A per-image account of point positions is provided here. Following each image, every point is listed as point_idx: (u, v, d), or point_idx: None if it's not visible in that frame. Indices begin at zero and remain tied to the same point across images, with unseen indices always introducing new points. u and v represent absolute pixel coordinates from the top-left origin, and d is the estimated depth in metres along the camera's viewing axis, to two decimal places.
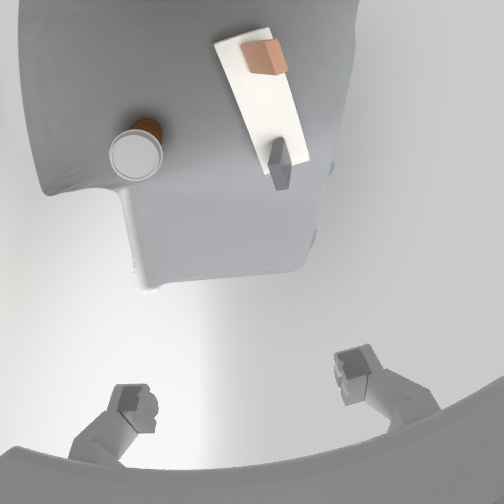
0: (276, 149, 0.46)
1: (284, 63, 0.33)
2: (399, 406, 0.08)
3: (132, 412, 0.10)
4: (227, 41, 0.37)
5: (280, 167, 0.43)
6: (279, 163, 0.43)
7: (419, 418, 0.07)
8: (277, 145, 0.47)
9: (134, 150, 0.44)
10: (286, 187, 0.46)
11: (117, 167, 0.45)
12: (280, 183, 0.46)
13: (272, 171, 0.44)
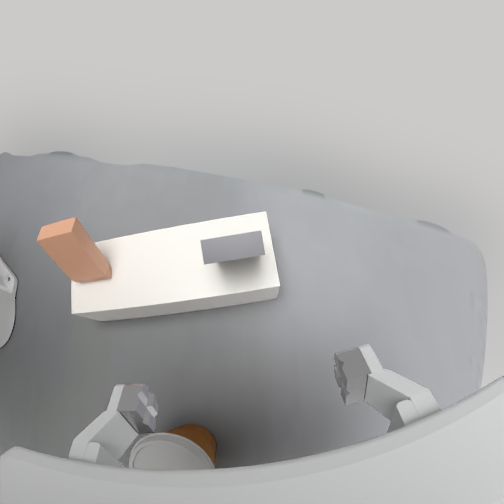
0: None
1: (66, 221, 0.26)
2: (399, 406, 0.08)
3: (133, 412, 0.10)
4: (72, 297, 0.32)
5: (210, 240, 0.24)
6: (202, 241, 0.24)
7: (419, 418, 0.07)
8: None
9: (156, 469, 0.22)
10: (257, 233, 0.24)
11: None
12: (247, 244, 0.24)
13: (219, 256, 0.24)
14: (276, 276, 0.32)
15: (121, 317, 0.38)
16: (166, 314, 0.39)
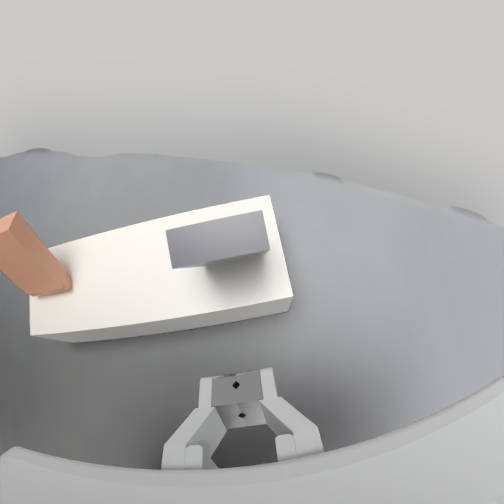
0: None
1: (6, 217, 0.17)
2: (278, 439, 0.08)
3: (231, 405, 0.10)
4: (31, 314, 0.23)
5: (181, 230, 0.15)
6: (168, 232, 0.15)
7: (296, 456, 0.07)
8: None
9: None
10: (256, 215, 0.15)
11: None
12: (240, 234, 0.15)
13: (195, 255, 0.15)
14: (287, 283, 0.23)
15: (93, 338, 0.28)
16: (147, 334, 0.30)
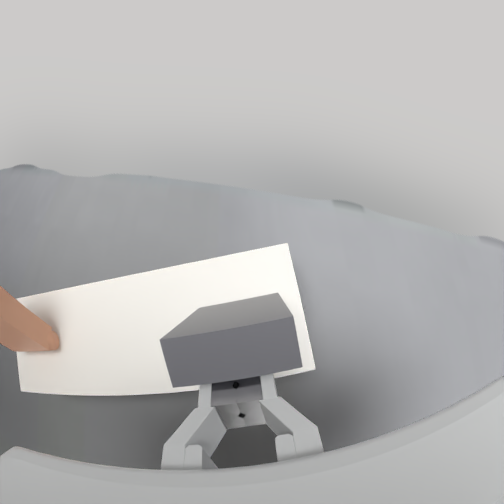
0: None
1: None
2: (278, 439, 0.08)
3: (231, 405, 0.10)
4: (19, 368, 0.19)
5: (181, 341, 0.10)
6: (164, 342, 0.10)
7: (295, 456, 0.07)
8: None
9: None
10: (285, 324, 0.10)
11: None
12: (263, 349, 0.10)
13: (202, 374, 0.10)
14: (309, 354, 0.18)
15: None
16: None
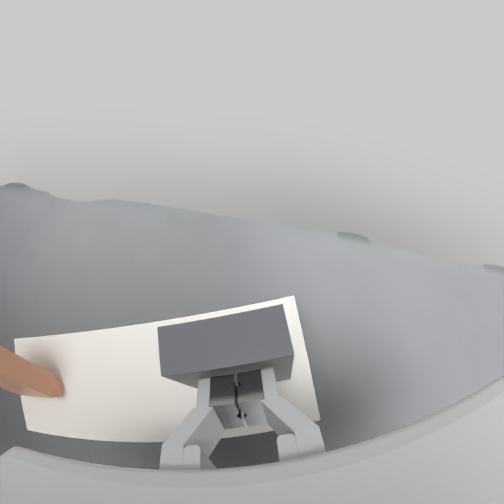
0: None
1: None
2: (279, 439, 0.08)
3: (229, 406, 0.10)
4: (24, 408, 0.18)
5: (177, 328, 0.11)
6: (161, 330, 0.11)
7: (297, 456, 0.07)
8: None
9: None
10: (275, 311, 0.11)
11: None
12: (254, 334, 0.11)
13: (192, 361, 0.10)
14: (314, 406, 0.18)
15: None
16: None
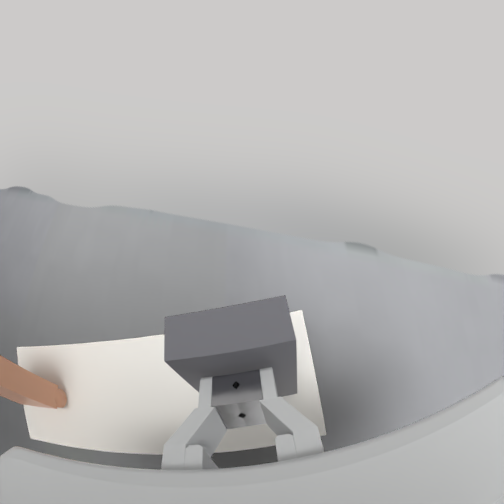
0: None
1: None
2: (278, 439, 0.08)
3: (231, 405, 0.10)
4: (27, 417, 0.18)
5: (183, 317, 0.12)
6: (168, 320, 0.12)
7: (296, 456, 0.07)
8: None
9: None
10: (278, 301, 0.11)
11: None
12: (257, 322, 0.11)
13: (196, 347, 0.11)
14: (321, 421, 0.17)
15: None
16: None
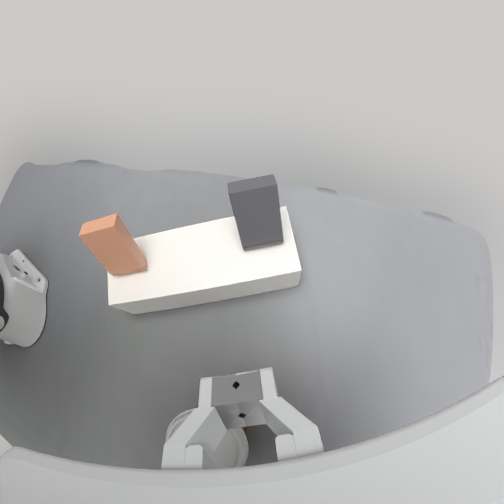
0: None
1: (107, 217, 0.31)
2: (278, 439, 0.08)
3: (231, 405, 0.10)
4: (109, 289, 0.37)
5: (235, 182, 0.31)
6: (229, 184, 0.31)
7: (296, 456, 0.07)
8: None
9: None
10: (270, 176, 0.31)
11: None
12: (263, 181, 0.30)
13: (240, 189, 0.30)
14: (298, 262, 0.36)
15: (154, 308, 0.42)
16: (196, 304, 0.44)
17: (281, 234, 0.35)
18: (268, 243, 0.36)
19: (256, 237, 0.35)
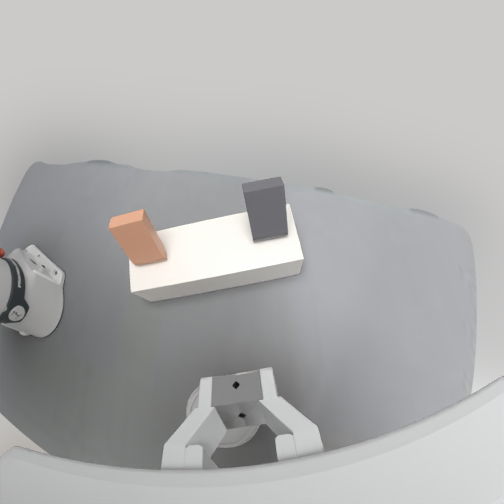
0: None
1: (135, 212, 0.36)
2: (278, 439, 0.08)
3: (231, 405, 0.10)
4: (131, 278, 0.43)
5: (248, 183, 0.37)
6: (243, 184, 0.37)
7: (296, 456, 0.07)
8: None
9: None
10: (278, 178, 0.37)
11: (228, 441, 0.31)
12: (272, 182, 0.36)
13: (253, 188, 0.36)
14: (300, 252, 0.42)
15: (170, 295, 0.48)
16: (209, 291, 0.49)
17: (286, 227, 0.41)
18: (275, 235, 0.42)
19: (265, 230, 0.40)
